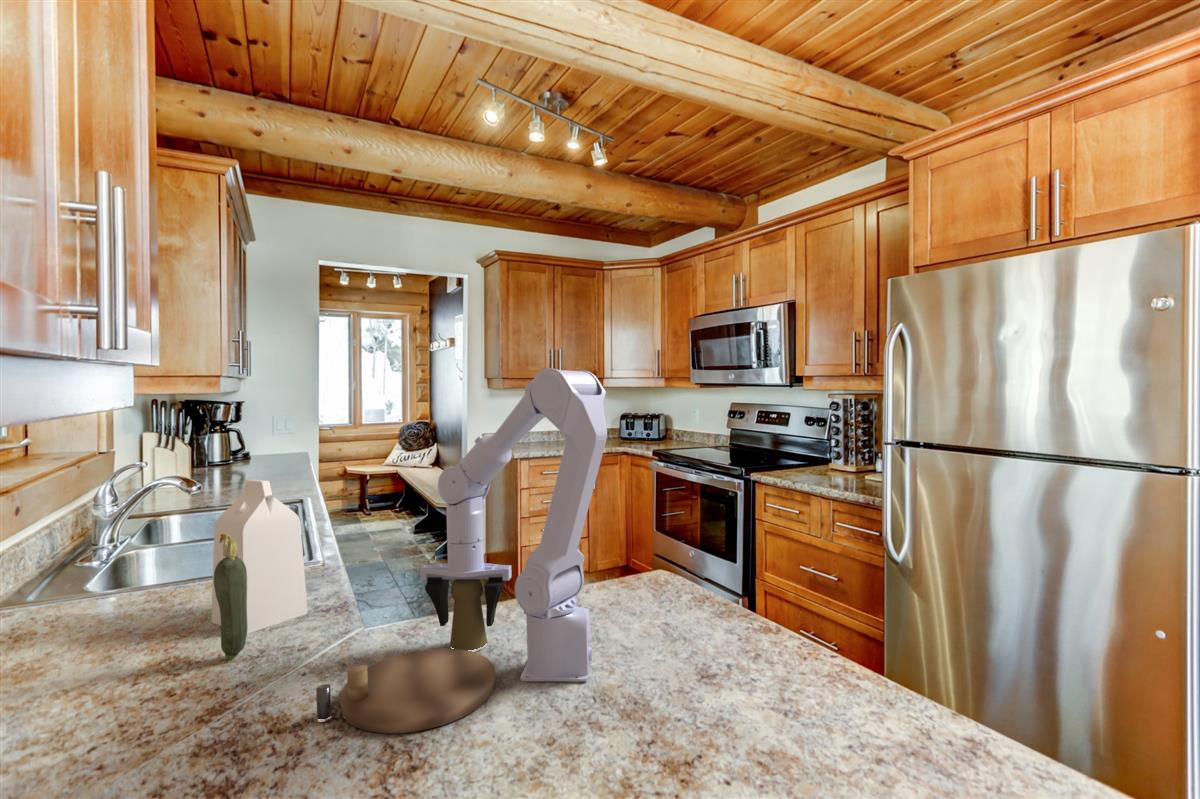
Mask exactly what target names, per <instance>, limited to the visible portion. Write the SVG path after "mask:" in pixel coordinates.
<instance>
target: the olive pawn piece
mask: <svg viewBox="0 0 1200 799" xmlns="http://www.w3.org/2000/svg"><path fill="white" fill-rule="evenodd" d="M484 592H485V590H484V582H483V579H454V581H453V582H452V584H451V587H450V593H451V597H452V599H453V600H454V605H453V613H452V623H451V632H450V633H451V634H450V643H449V647H450V646H451V647H452V648H454V649H461V650H467V651H468V650H474V649H478V648H480V647H483V646H484V645H485V644H486V643H487V644H488V639H487V631H486V625H485V618H484V613H483V607H482V601H481V600H482V599H481V598H482V595H483V594H484Z"/></svg>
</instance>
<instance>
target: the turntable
mask: <svg viewBox="0 0 1200 799" xmlns="http://www.w3.org/2000/svg"><path fill="white" fill-rule="evenodd" d="M346 672H347V673H346V674H347V675H346V677H347V680H346V684H345V685H344V686H343V688H342V690H341V694H340V710H341V712H342V713H341V715H342V714H343V715H342V717H343V716H344V717H345V718H346V720H347V721H348V722H349V723H348V722H347V721H346V720H345V721H346V722H347V723H348V724H349V725H351V726H353V727H355V728H357V729H358V730H363V731H366V732H371V733H378V734H379V733H380V734H403V733H407V734H408V733H414V732H420V731H425V730H430V729H433V728H436V727H441V726H444V725H446V724H450V723H453V722H454V721H458V720H460V719H461V718H463V717H465V716H468V715H469V714H471V713H472V712H474V711H476V710H478V708H480V707H481V706H482V705H484V704H485V703H486V701H488V700H489V699H490V697H491V696H492V694H493V693H494V690H495V688H496V668H495V666H494V664H493V662H492V661H491V660H490V659H489V658H487V657H486V656H484V655H483V654H481V653H479V652H472V651H467V650H461V649H450V648H430V649H429V648H428V649H421V650H414V651H410V652H405V653H401V654H398V655H394V656H391V657H388V658H385V659H382V660H380V661H377V662H375V663H373V664H371V665H368V666H367V665H365V664H360V665H353V666H352V667H349V668H348V669H347V670H346Z"/></svg>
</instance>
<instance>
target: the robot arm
mask: <svg viewBox="0 0 1200 799" xmlns="http://www.w3.org/2000/svg"><path fill="white" fill-rule="evenodd" d="M606 394H607V391H606V390H605V388H604V386H603V385H602V383H601V382H600V381H599V379H598V377H597V376H596V375H595V374H593V372H591V371H588V370H582V369H580V370H565V369H557V368H551V367H549V368H544V369H542V370H540V371H539V372H538V373H537V374H536V375H535V376H534V378H533V379H532V380H531V381H530V382H528V383H527V385H526V386H525V390H524V394H523V396H522V397H521V399H520V400H519V401H518V403H517V404H516V406H514V408H513V409H512V410H511V411H510V414H509V415H508V416H507V417H505V420H504V421H503V422H502V424H501V425H500V426H499V428H498V429H497V430H496V431H495V432H494V434H493V433H486V434H484V435H480V436H477V437H476V439H475V440H474V443H475V444H474V445H473V446H472V448H471V449H470V450H469V451H468V452H467V453H466V454H465V456H464V455H463V456H462V457H461V458H459V459H458V460H459V463H457V464H455V466H448V467H444V468H443V469H442V472H441V473H440V474H439V477H438V481H437V489H438V490H437V491H438V493H439V494H438V495H440V497H441V500H442V501H444V502H445V504H446V506H445V508H446V545H447V550H446V552H447V563H445V564H435V565H433V564H432V565H423V567H421V568H420V570H419V572H420V574H419V575H420V581H421V582H425V581H426V584H425V585H424V590H425V592H426V593H427V595H428V598H430V600H431V603H432V604H433V607H434V609H435V611H436V612H435V613H436V615H437V617H438V622H439V627H445V626H446V625H447V623H448V622H449V619H450V617H449V616H450V615H449V614H450V613H449V612H450V611H449V587H450V580H456V579H481V580H488V581H487V582H485V584H483V586H484V595H485V605H486V615H485V616H486V618H485V620H486V627H492V626H493V625H494V623H495V616H496V610H497V606H498V602H499V599H500V596H501V593H502V591H503V588H504V586H505V584H506V581H510V580H511V578H513V576H512V565H509V564H508V565H507V564H506V565H505V564H497V563H496V564H495V563H487V562H485V561H484V560H485V559H484V558H485V556H484V551H485V550H484V519H483V518H484V516H483V514H484V512H483V509H484V508H485V506H486V496H488V494H489V492H490V488H491V482H492V480H494V479H495V477H496V476H497V475H498V474H499V473H500V472H501V471H502V470H503V469H504V468H505V467H506V466H507V464H509V462H510V461H511V460H512V457H513V454H512V449H513V447H515V446H516V445H517V443H519V442H520V441H521V440H522V439H523V438H524V437H525V436H526V435H527V434H528V433H529V432H531V430H532V429H533V428H534V427H536V426H537V424H539V423H540V422H541V421H542V420H543V419H545V418H546V419H547V420H548V421H549V422H550V423H551V424H552V425H553V426H554V427H555V428H557V429H558V430H559V431H560V433H561V434H562V436H563V438H564V440H565V444H564V448H563V452H562V456H561V460H560V464H559V467H558V472H557V476H556V479H555V480H556V481H555V483H554V488H553V491H552V492H553V493H552V496H551V500H550V504H549V508H548V512H547V515H546V519H545V524H544V528H543V532H542V535H541V540H540V543H539V544H538V546H537V547H535V549H534V550H533V552H532V553H531V554H530V555H529V556H528V557H527V559H526V562H525V565H524V568H523V571H521V573H519V575H518V576H517V577H516V580H515V583H514V596H515V600H516V602H517V603H518V606H519V607H520V608H521V609H522V611H523V615H526V620H525V621H526V622H525V623H526V653H527V654H526V656H527V660H526V663H525V666H524V668H523V670H522V672H521V675H520V677H519V680H520V681H522V682H575V683H577V682H578V683H580V682H587V681H588V679H589V678H588V677H589V673H590V669H591V664H592V661H593V648H592V633H591V632H592V630H591V613H590V608H586V607H579V606H576V604H577V603H578V597H577V596H578V595H579V594H580V593H581V591H582V590H583V588H584V582H585V577H584V576H585V575H584V561H585V555H584V554H583V553H582V552H581V551H580V549H579V545H580V541H581V537H582V534H583V530H584V526H585V522H586V520H587V519H586V518H587V515H588V511H589V506H590V504H591V500H592V497H593V492H594V489H595V485H596V481H597V477H598V473H599V469H600V466H601V462H602V458H603V453H604V450H605V446H606V442H607V438H608V429H607V423H606V416H605V414H606V413H605V408H604V401H605V399H606Z"/></svg>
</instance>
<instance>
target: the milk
mask: <svg viewBox="0 0 1200 799" xmlns="http://www.w3.org/2000/svg"><path fill="white" fill-rule="evenodd" d="M213 533H214V534H213V535H214V536H213V561H212V563H213V564H212V565H213V566H212V590H211V591H212V592H211V595H212V596H211V623H212V622H213V624H214V625H218V626H220V627H221V616H220V607H219V604H218V601H217V598H216V592H215V587H214V572H215V568H216V566H217V564H218V563H219V562H220V561H221V560H222V559H224V558H226V557H225V556H223V544H224V540H223V539H222V540H223V541H222V542H221V543H219V542H220V538H221V534H222V533H225V534H228V535H229V536H231V537H232V539H234V541H235V542H236V543H237V547H238V551H237V557H238V558H240V559H241V560H242V561H243V562H244V564H245V567H246V571H247V635H248V634H250V633H254V632H257V631H261V630H262V629H266V628H269V627H271V626H274V625H277V624H278V625H279V624H281V623H283V622H287V621H289V620H293V619H295V618H298V617H302V616H305V615H307V614H309V610H308V598H307V588H306V577H305V576H306V575H305V566H304V565H305V562H304V561H305V560H304V551H303V539H302V538H303V537H302V527H301V520H300V517H299V515H297V513H296V512H295V511H293V510H292V509H291V508H290V507H288V505H286V504H284V503H283V502H281V501H280V500H279V499H277V498H276V497H275V496H273V491H272V487H271V483H270V480H264V479H257V478H256V479H253V478H251V479H246V480H245V481H244V487H243V491H242V494H241V495H240V496H239V497H238V498H237V499H236V500H235V501H233V503H232V504H231V505H230V506H229V507H228V508H227V509H225V511H224V512H222V514H221V515H220V516H219V517H218V518H217V520H216V521H215V523H214V529H213Z"/></svg>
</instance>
